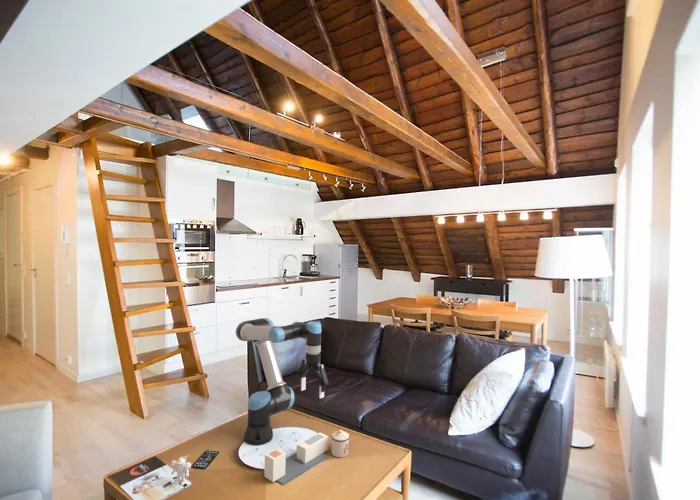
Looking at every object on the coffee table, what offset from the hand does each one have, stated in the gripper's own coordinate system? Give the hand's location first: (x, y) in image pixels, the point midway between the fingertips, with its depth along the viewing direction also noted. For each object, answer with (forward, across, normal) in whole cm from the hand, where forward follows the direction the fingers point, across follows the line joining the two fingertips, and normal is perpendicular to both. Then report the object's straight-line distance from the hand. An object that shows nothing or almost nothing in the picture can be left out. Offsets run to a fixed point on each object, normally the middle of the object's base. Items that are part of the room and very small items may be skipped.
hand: (312, 393), depth 195 cm
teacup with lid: (+29, +13, +9) cm, 33 cm away
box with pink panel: (+28, +5, -27) cm, 39 cm away
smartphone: (+29, -30, -41) cm, 59 cm away
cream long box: (+28, +5, -4) cm, 29 cm away
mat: (+29, +5, -14) cm, 32 cm away
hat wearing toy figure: (+29, -22, -58) cm, 68 cm away
